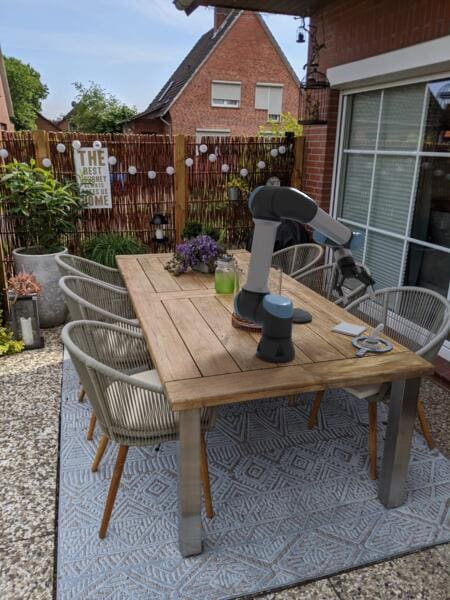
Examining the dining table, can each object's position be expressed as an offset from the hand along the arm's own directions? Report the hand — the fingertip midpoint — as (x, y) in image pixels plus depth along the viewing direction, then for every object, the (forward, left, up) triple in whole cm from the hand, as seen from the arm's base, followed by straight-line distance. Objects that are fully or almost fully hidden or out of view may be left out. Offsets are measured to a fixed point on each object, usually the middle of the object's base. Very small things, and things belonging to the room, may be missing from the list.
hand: (360, 301), depth 192 cm
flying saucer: (+4, +32, -17) cm, 36 cm away
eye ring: (-10, -9, -16) cm, 21 cm away
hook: (-6, -9, -16) cm, 20 cm away
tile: (+5, +5, -16) cm, 18 cm away
